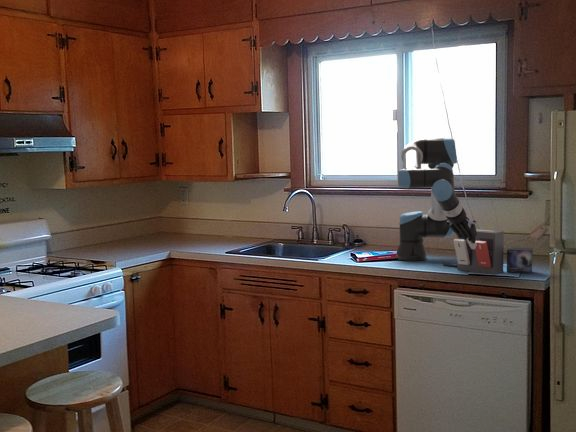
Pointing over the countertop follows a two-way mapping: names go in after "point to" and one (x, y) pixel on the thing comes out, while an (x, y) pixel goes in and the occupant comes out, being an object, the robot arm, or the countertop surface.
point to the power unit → (494, 249)
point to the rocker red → (482, 254)
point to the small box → (519, 260)
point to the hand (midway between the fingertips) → (474, 246)
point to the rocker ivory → (461, 251)
